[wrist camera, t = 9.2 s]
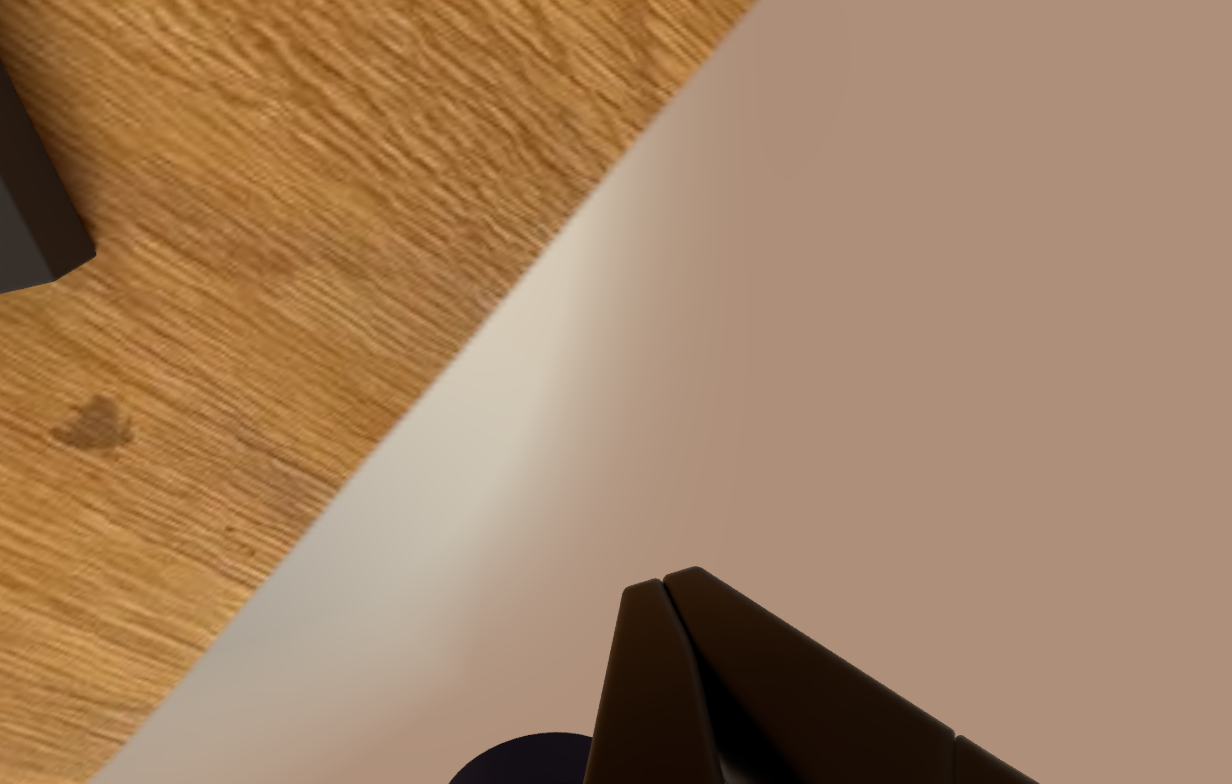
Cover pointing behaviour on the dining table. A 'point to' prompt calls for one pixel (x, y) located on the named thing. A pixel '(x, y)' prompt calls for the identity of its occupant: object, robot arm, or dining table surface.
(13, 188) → the dark grey tabbed block
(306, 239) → the dining table surface
